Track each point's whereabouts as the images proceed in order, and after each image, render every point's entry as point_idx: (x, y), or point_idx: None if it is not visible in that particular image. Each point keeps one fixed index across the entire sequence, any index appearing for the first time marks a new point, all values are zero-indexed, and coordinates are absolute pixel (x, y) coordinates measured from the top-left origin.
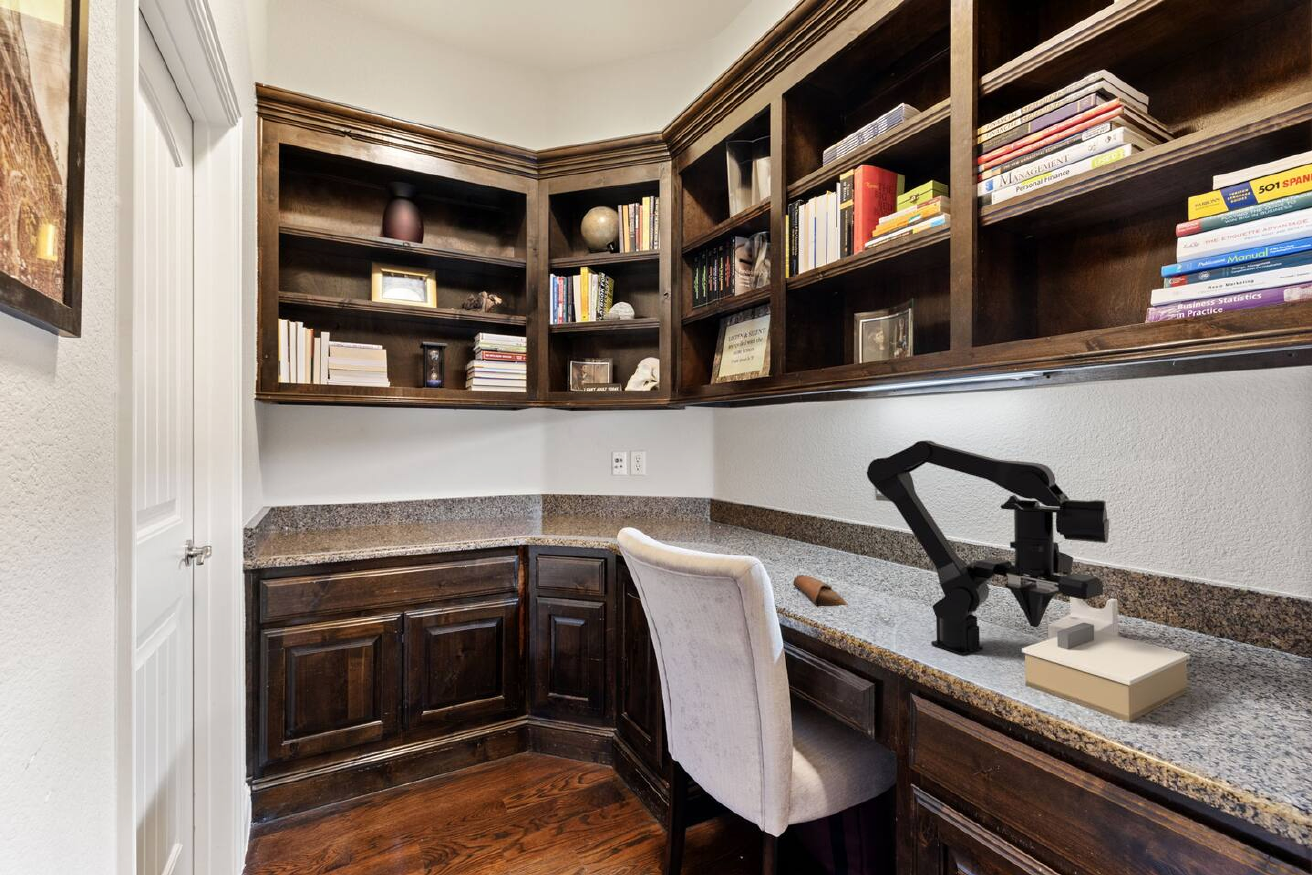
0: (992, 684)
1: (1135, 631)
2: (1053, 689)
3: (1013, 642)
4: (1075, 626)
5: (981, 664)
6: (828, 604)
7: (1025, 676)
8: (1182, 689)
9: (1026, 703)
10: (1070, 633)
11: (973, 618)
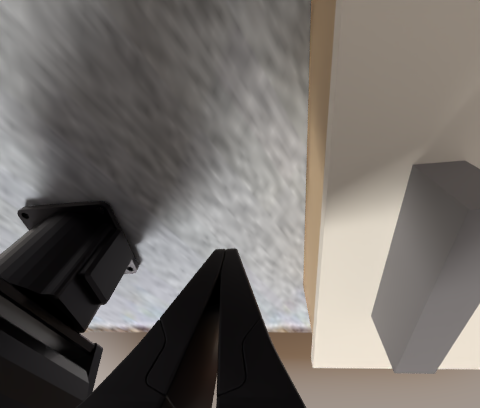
0: (268, 314)
1: None
2: None
3: (59, 59)
4: (439, 297)
5: (191, 269)
6: None
7: (306, 301)
8: None
9: None
10: (439, 359)
11: (69, 308)
